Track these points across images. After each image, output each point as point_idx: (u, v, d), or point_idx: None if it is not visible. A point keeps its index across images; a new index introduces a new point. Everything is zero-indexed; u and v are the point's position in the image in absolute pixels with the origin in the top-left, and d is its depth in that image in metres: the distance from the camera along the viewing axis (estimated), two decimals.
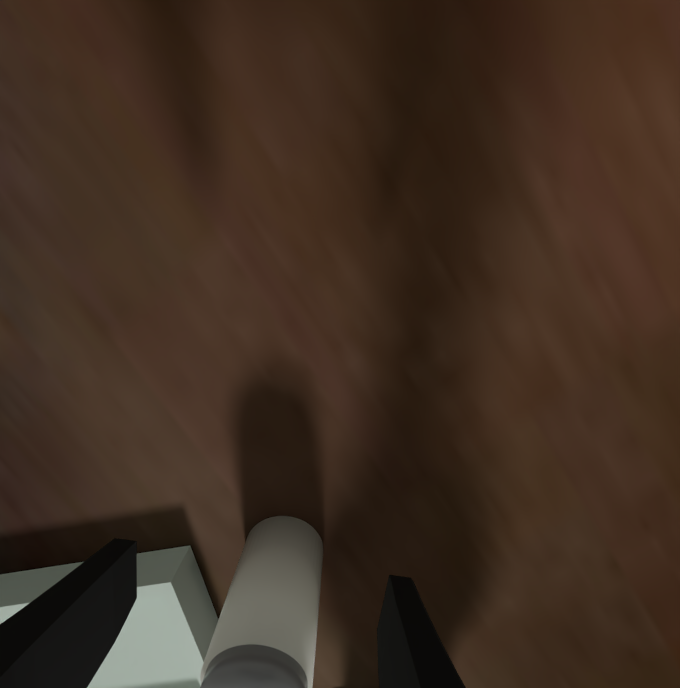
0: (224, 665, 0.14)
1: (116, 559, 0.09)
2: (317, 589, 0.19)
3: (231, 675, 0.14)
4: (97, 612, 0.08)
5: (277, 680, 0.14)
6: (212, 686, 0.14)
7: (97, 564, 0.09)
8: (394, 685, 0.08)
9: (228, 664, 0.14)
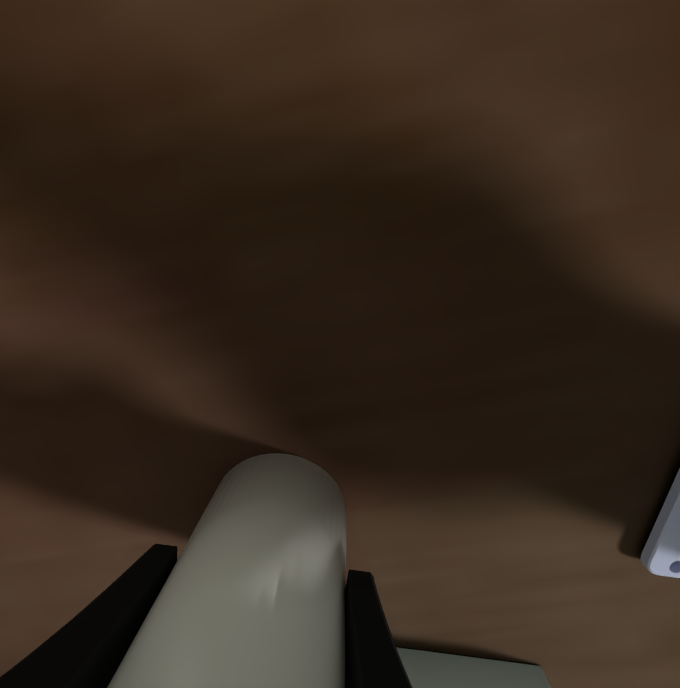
0: None
1: (161, 565, 0.09)
2: (260, 522, 0.09)
3: None
4: (144, 618, 0.08)
5: None
6: None
7: (143, 570, 0.09)
8: (346, 679, 0.08)
9: None
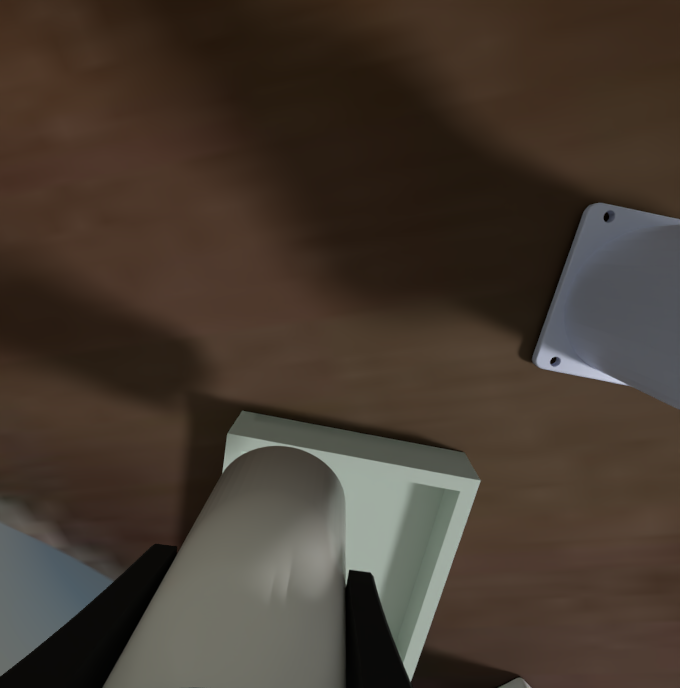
0: None
1: (160, 565, 0.09)
2: (259, 510, 0.09)
3: None
4: None
5: None
6: None
7: (143, 570, 0.09)
8: (346, 679, 0.08)
9: None
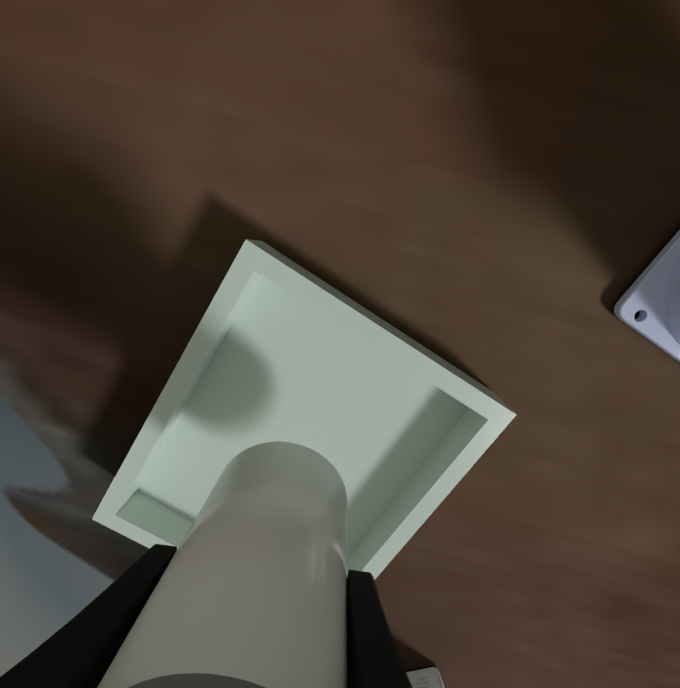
0: None
1: (161, 565, 0.09)
2: (260, 503, 0.09)
3: None
4: None
5: None
6: None
7: (143, 570, 0.09)
8: None
9: None
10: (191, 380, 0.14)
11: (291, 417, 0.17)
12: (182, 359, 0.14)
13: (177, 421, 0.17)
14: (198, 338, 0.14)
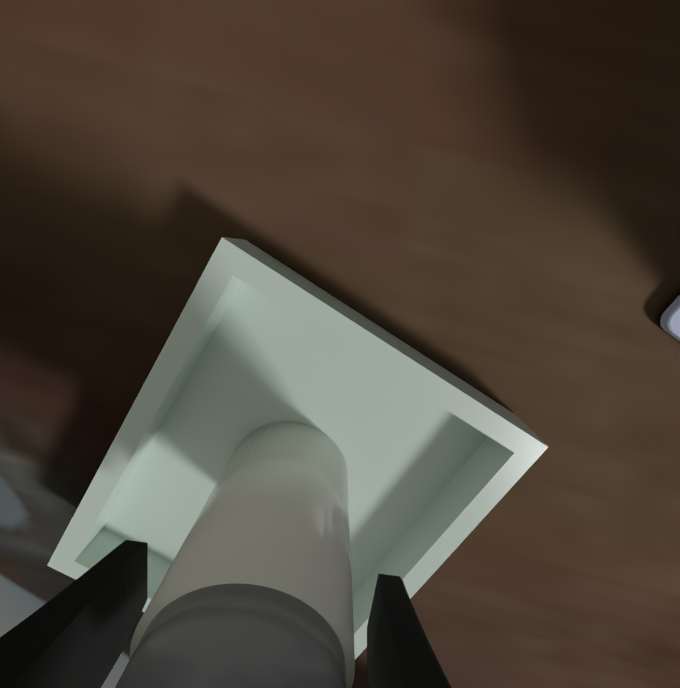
0: None
1: (128, 561, 0.09)
2: (274, 467, 0.11)
3: None
4: (110, 614, 0.08)
5: (143, 657, 0.06)
6: None
7: (110, 566, 0.09)
8: (381, 683, 0.08)
9: None
10: (159, 406, 0.12)
11: None
12: (148, 382, 0.12)
13: (148, 450, 0.14)
14: (166, 356, 0.12)
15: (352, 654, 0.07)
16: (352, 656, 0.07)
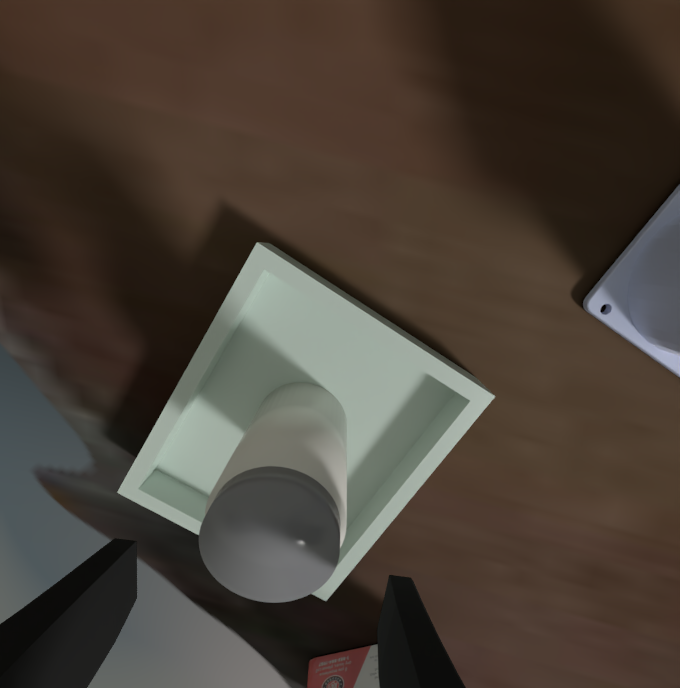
0: None
1: (116, 559, 0.09)
2: (292, 409, 0.15)
3: (202, 545, 0.11)
4: (97, 612, 0.08)
5: (220, 500, 0.11)
6: (216, 570, 0.11)
7: (97, 564, 0.09)
8: (394, 685, 0.08)
9: None
10: (208, 366, 0.16)
11: None
12: (200, 347, 0.16)
13: (193, 405, 0.19)
14: (214, 329, 0.16)
15: (344, 515, 0.12)
16: (344, 516, 0.12)
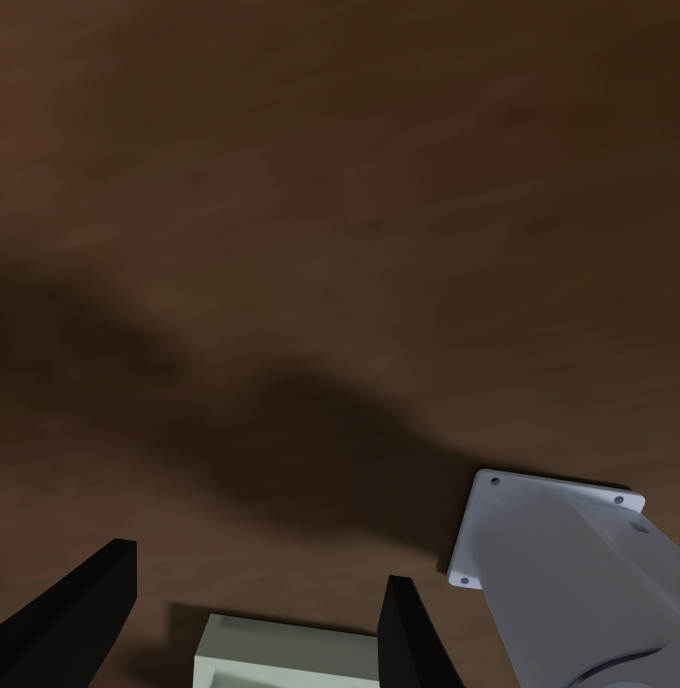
0: None
1: (116, 559, 0.09)
2: None
3: None
4: (97, 612, 0.08)
5: None
6: None
7: (97, 564, 0.09)
8: (394, 685, 0.08)
9: None
10: None
11: None
12: None
13: None
14: None
15: None
16: None
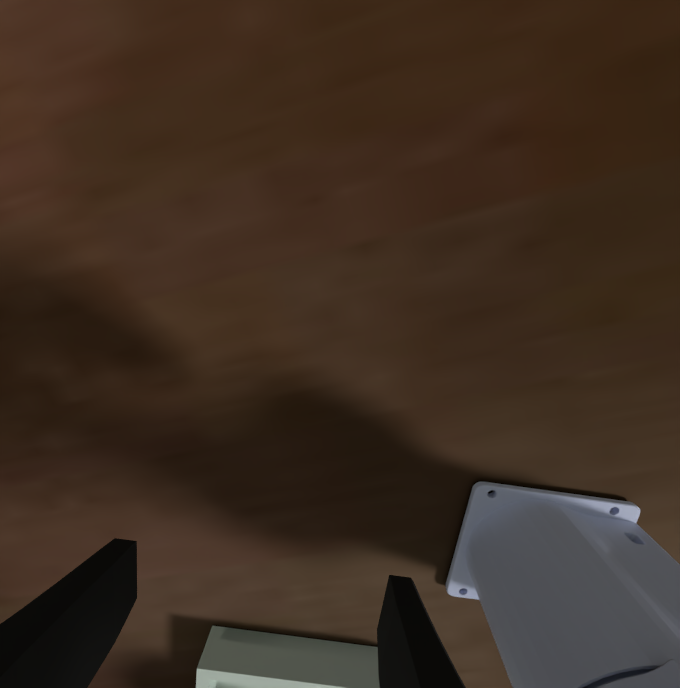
0: None
1: (116, 559, 0.09)
2: None
3: None
4: (97, 612, 0.08)
5: None
6: None
7: (97, 564, 0.09)
8: (394, 685, 0.08)
9: None
10: None
11: None
12: None
13: None
14: None
15: None
16: None
